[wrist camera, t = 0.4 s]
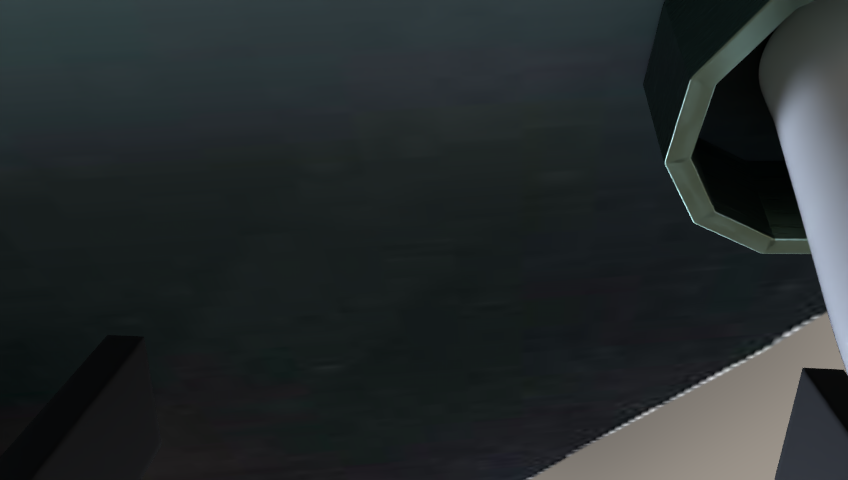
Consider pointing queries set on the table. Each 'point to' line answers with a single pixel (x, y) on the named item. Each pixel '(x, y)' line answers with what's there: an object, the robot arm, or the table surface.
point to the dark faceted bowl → (685, 112)
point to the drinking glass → (815, 137)
